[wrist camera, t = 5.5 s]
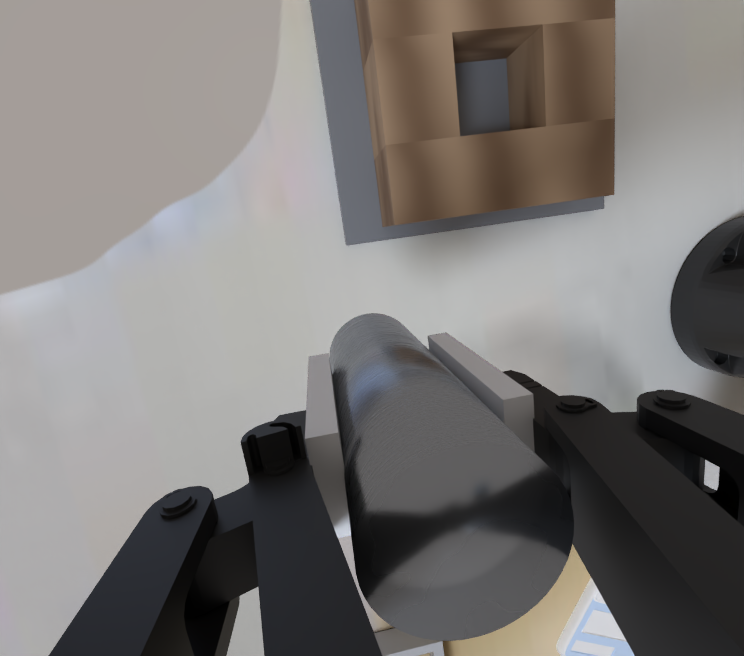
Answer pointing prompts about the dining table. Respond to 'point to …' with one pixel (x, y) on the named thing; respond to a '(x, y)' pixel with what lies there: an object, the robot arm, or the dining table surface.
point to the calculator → (592, 629)
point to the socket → (466, 111)
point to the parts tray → (406, 644)
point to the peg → (439, 491)
